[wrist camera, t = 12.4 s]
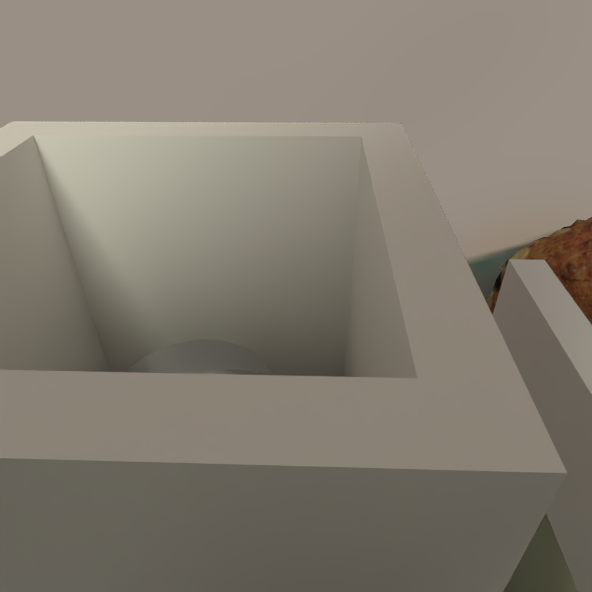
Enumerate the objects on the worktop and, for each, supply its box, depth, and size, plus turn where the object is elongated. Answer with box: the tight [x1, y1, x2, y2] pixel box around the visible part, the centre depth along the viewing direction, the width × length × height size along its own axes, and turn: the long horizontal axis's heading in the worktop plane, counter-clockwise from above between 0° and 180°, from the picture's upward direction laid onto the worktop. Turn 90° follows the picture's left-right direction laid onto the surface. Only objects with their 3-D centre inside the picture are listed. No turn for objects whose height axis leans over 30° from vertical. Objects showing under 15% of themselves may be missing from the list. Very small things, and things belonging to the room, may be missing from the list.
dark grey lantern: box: [126, 340, 272, 375], centre depth 12 cm, size 10×10×12 cm
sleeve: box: [0, 122, 567, 592], centre depth 9 cm, size 7×7×10 cm
